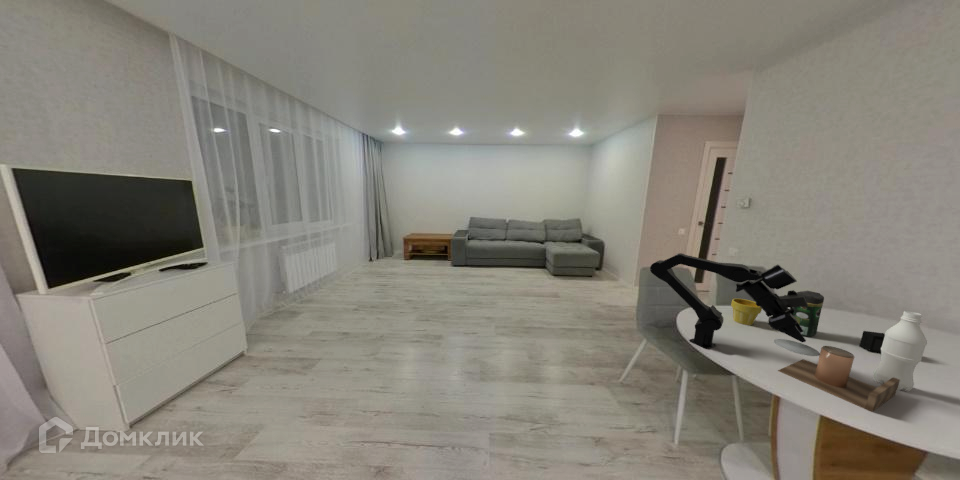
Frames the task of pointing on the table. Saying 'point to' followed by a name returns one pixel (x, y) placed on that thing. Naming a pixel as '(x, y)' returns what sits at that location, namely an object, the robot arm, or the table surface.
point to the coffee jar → (809, 312)
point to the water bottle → (901, 351)
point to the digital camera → (872, 341)
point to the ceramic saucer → (796, 347)
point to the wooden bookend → (852, 393)
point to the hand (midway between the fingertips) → (803, 336)
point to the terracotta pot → (834, 366)
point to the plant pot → (745, 311)
